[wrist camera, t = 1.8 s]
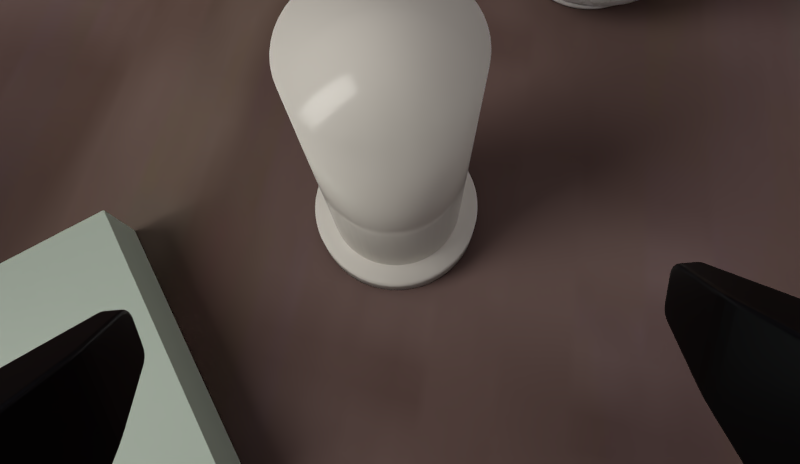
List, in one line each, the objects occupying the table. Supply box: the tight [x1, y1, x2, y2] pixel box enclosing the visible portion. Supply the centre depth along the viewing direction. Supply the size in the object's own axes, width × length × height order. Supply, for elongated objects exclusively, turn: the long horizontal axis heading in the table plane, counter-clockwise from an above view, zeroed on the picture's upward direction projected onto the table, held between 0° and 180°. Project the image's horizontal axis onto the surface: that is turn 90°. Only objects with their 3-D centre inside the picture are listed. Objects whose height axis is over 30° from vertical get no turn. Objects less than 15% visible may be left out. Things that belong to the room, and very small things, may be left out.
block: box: [0, 210, 241, 464], centre depth 19 cm, size 11×11×2 cm
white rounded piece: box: [269, 0, 491, 290], centre depth 18 cm, size 6×6×11 cm
